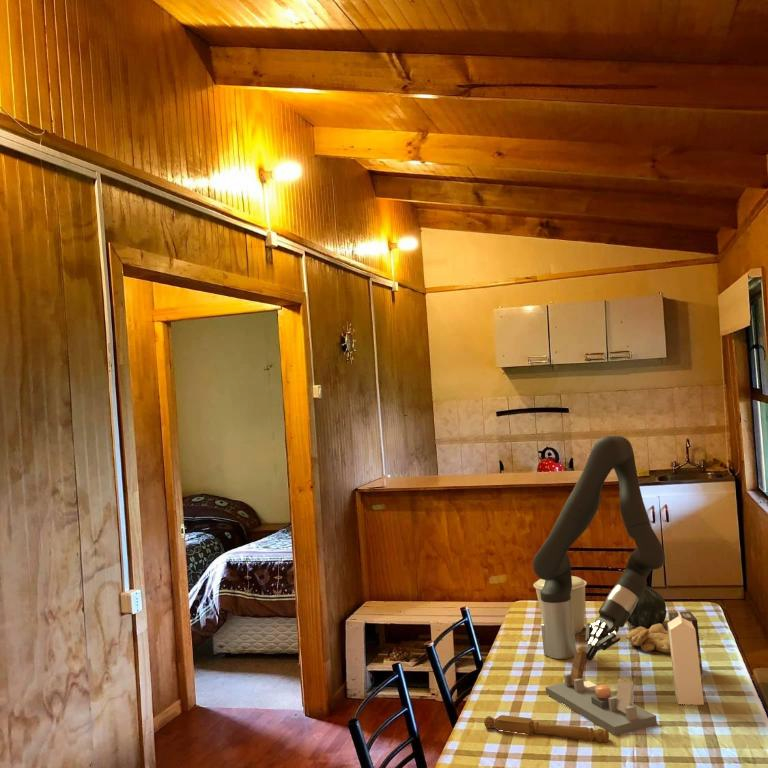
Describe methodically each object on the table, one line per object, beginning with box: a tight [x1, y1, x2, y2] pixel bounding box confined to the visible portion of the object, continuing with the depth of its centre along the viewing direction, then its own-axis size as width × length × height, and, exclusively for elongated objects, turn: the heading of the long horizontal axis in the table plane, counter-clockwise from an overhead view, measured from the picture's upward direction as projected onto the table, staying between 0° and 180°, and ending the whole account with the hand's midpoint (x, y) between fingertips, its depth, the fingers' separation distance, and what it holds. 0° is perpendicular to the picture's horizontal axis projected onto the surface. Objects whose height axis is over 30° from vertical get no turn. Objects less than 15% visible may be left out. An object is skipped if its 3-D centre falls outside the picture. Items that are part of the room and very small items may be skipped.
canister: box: [533, 575, 587, 635], centre depth 253 cm, size 18×18×21 cm
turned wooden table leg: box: [483, 714, 610, 744], centre depth 175 cm, size 3×3×30 cm
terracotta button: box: [595, 684, 612, 698], centre depth 185 cm, size 4×4×2 cm
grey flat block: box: [615, 677, 635, 713], centre depth 178 cm, size 1×5×7 cm, turn 18°
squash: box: [627, 585, 667, 629], centre depth 252 cm, size 14×15×15 cm
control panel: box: [545, 672, 658, 737], centre depth 187 cm, size 12×30×5 cm, turn 20°
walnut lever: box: [569, 644, 587, 685], centre depth 198 cm, size 3×3×11 cm
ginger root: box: [624, 623, 671, 653], centre depth 228 cm, size 16×16×8 cm
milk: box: [667, 610, 704, 706], centre depth 187 cm, size 6×6×22 cm
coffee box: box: [667, 611, 704, 680], centre depth 205 cm, size 9×6×16 cm
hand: (586, 658), depth 198 cm, fingers closed
